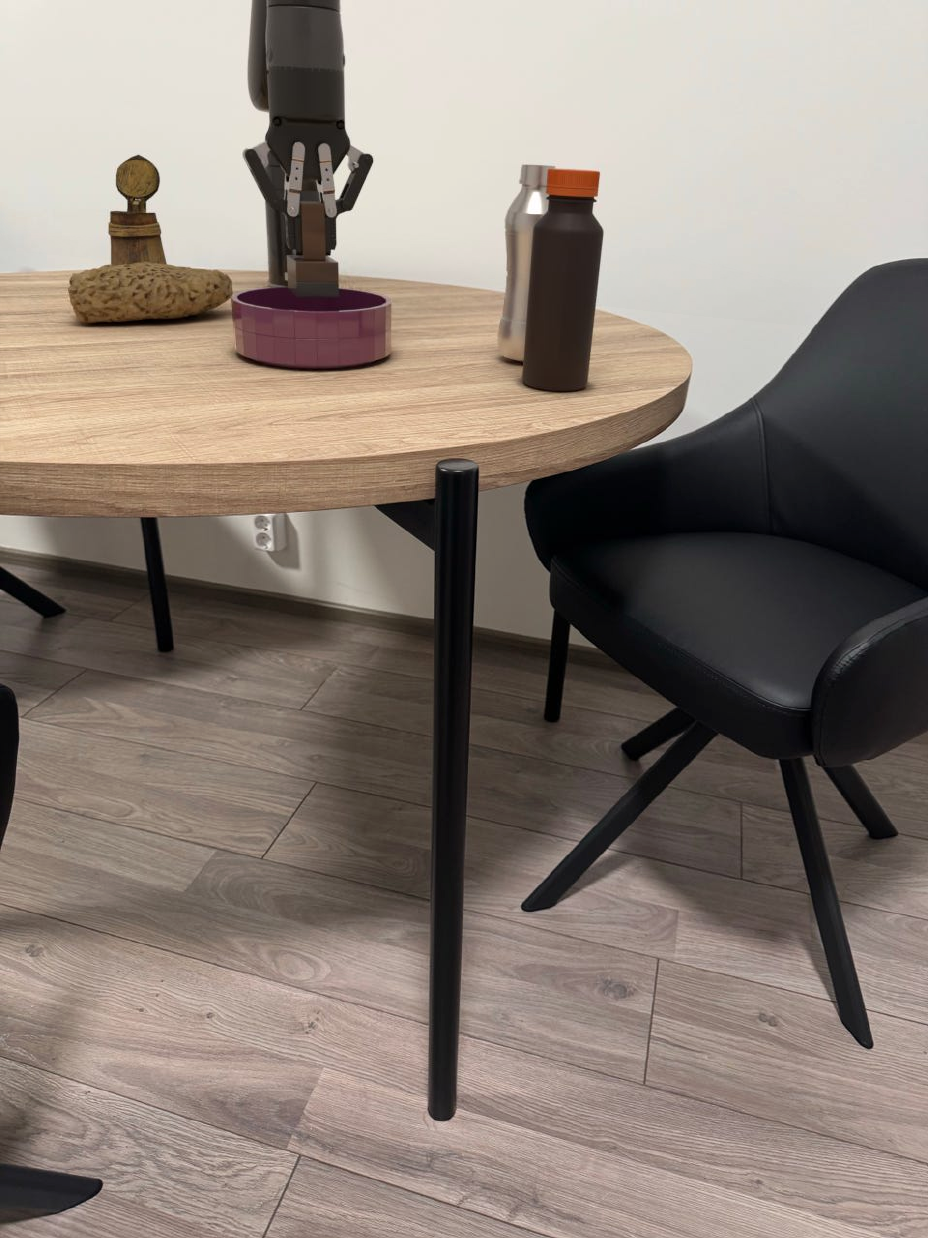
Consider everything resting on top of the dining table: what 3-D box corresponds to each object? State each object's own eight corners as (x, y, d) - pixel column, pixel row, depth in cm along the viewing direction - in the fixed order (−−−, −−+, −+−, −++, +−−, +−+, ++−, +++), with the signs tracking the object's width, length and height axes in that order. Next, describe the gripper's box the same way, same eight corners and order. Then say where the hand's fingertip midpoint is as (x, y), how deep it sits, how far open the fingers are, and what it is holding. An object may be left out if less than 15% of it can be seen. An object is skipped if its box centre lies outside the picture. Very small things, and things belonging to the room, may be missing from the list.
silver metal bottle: (557, 357, 106) (574, 166, 97) (546, 369, 100) (563, 167, 91) (503, 352, 107) (515, 163, 98) (489, 363, 102) (500, 163, 92)
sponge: (83, 341, 108) (247, 302, 113) (58, 272, 105) (227, 235, 110) (87, 340, 120) (235, 304, 125) (65, 277, 117) (217, 244, 122)
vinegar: (532, 373, 98) (549, 167, 89) (594, 381, 96) (617, 171, 87) (513, 386, 93) (528, 167, 83) (577, 395, 91) (600, 172, 81)
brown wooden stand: (183, 288, 138) (171, 155, 130) (170, 302, 127) (156, 158, 118) (122, 286, 137) (106, 152, 129) (104, 301, 125) (84, 154, 117)
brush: (288, 288, 101) (284, 199, 96) (328, 288, 102) (326, 200, 98) (296, 297, 96) (293, 203, 92) (339, 297, 97) (337, 204, 93)
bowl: (228, 339, 107) (224, 285, 104) (371, 337, 112) (371, 285, 109) (244, 373, 92) (240, 312, 89) (408, 369, 97) (409, 310, 95)
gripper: (366, 72, 94) (367, 251, 102) (229, 62, 90) (241, 249, 98) (384, 68, 88) (383, 259, 96) (237, 57, 84) (249, 258, 92)
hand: (311, 253), depth 97 cm, fingers closed on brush, 2 cm apart
